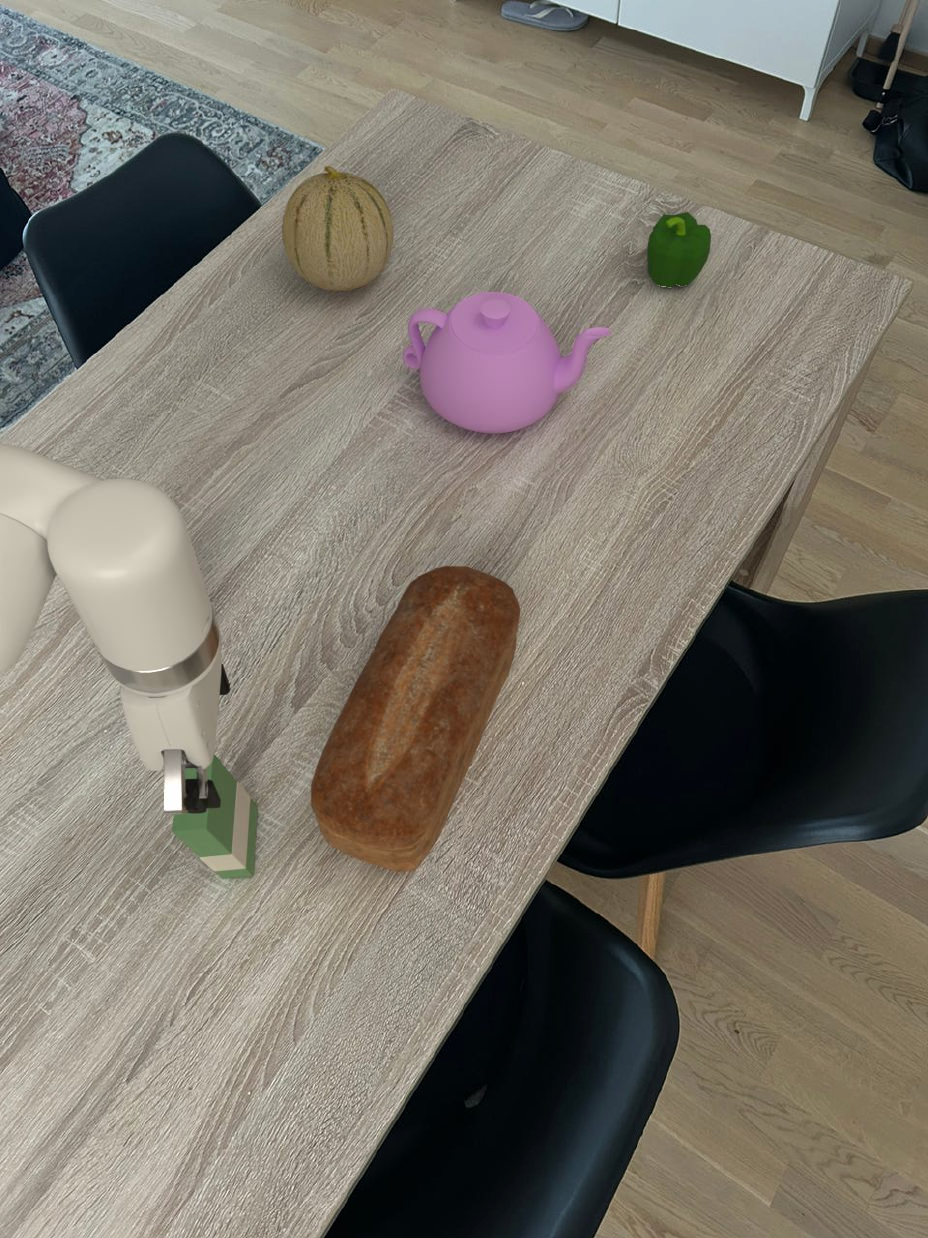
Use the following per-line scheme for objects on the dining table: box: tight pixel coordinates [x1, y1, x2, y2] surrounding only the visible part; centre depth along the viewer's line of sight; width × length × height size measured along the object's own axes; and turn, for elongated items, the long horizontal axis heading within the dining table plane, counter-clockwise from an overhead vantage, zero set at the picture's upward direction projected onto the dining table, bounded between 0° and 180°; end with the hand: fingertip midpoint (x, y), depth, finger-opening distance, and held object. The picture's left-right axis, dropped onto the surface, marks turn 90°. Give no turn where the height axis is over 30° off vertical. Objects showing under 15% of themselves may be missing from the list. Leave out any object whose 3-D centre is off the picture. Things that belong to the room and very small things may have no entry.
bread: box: [310, 565, 521, 873], centre depth 100 cm, size 12×31×14 cm, turn 158°
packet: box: [171, 753, 259, 880], centre depth 94 cm, size 13×7×3 cm
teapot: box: [402, 291, 612, 435], centre depth 126 cm, size 25×18×14 cm
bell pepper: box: [646, 211, 712, 288], centre depth 139 cm, size 8×8×10 cm
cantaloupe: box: [281, 165, 394, 292], centre depth 136 cm, size 15×15×15 cm
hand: (205, 746), depth 82 cm, fingers open, 9 cm apart
